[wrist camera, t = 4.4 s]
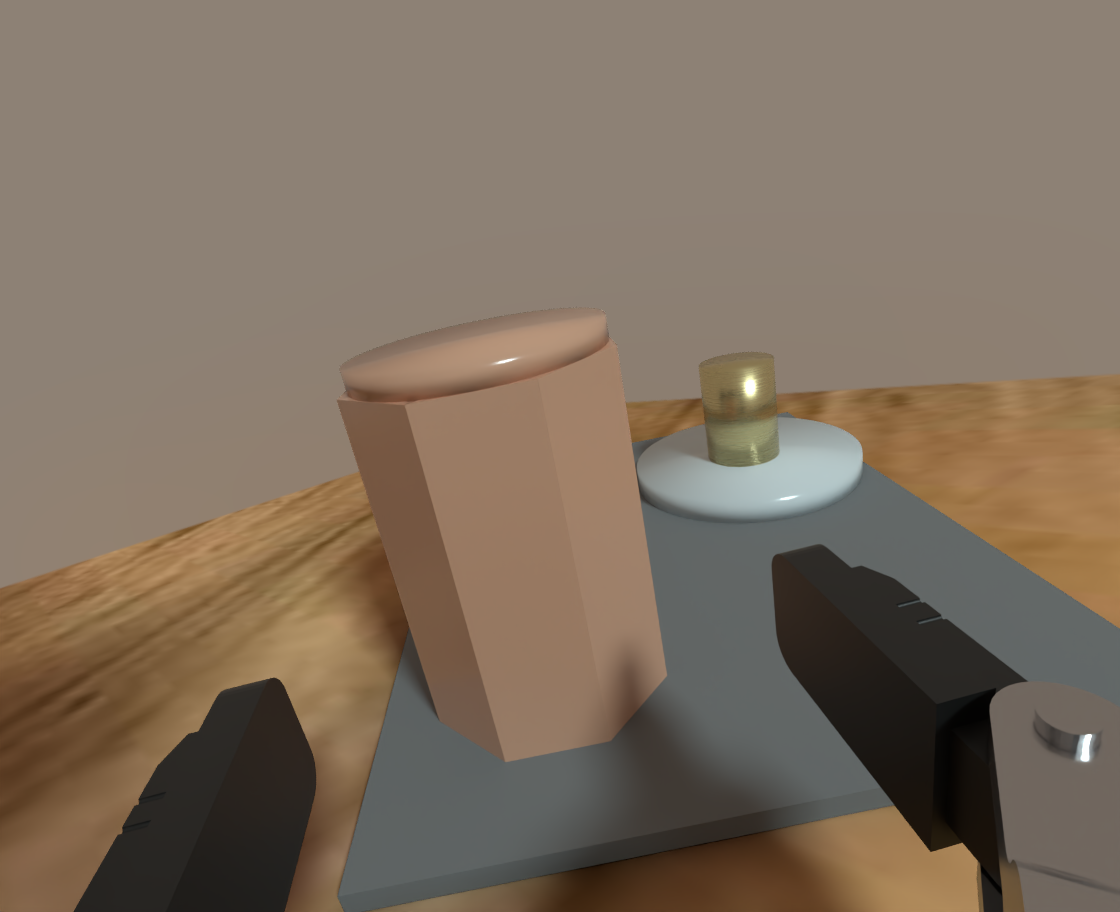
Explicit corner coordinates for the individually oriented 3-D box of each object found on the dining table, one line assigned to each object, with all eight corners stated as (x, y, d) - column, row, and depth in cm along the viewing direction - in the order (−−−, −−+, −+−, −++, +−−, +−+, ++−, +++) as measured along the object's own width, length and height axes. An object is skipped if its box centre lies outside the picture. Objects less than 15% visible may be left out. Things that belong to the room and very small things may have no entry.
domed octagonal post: (431, 777, 16) (301, 395, 12) (454, 623, 22) (372, 341, 18) (684, 726, 16) (627, 330, 12) (636, 587, 22) (589, 298, 19)
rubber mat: (346, 914, 13) (337, 896, 13) (451, 488, 36) (448, 479, 36) (1244, 735, 14) (1249, 713, 13) (787, 422, 36) (787, 412, 36)
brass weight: (720, 472, 27) (710, 376, 26) (700, 448, 30) (690, 361, 29) (791, 458, 27) (785, 361, 26) (763, 436, 30) (757, 348, 29)
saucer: (665, 542, 25) (662, 520, 24) (623, 457, 34) (621, 440, 34) (912, 493, 25) (912, 470, 24) (802, 422, 34) (801, 404, 34)
